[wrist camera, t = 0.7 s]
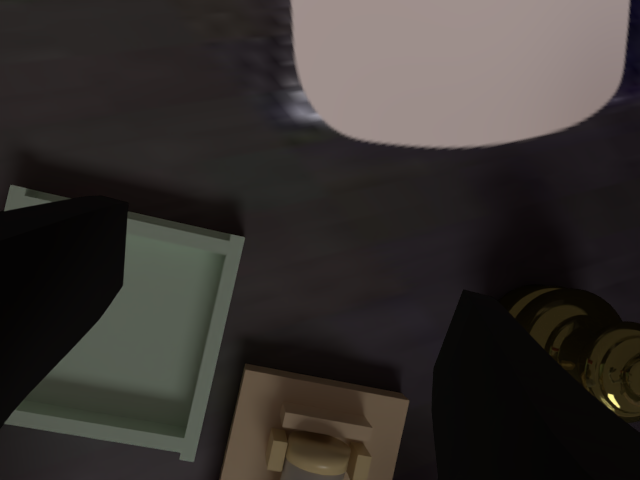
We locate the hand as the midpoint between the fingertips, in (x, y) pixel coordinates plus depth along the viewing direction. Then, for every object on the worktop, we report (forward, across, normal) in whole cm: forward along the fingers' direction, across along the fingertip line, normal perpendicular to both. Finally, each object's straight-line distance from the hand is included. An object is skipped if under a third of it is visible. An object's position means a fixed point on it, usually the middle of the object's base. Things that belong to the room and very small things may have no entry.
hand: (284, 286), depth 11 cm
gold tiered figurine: (+22, -14, +12) cm, 29 cm away
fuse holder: (+14, -2, +22) cm, 26 cm away
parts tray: (+15, +11, +14) cm, 23 cm away
